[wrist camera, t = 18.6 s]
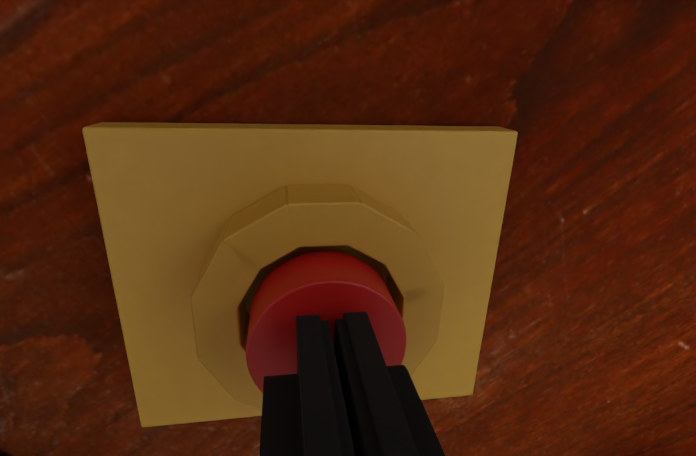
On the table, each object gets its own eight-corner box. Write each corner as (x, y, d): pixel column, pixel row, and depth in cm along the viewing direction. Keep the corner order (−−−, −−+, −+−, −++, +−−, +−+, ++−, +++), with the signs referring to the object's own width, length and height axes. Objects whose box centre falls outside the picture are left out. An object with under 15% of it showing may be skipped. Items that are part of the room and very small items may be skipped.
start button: (246, 252, 11) (240, 284, 9) (394, 247, 11) (413, 276, 10) (254, 376, 12) (250, 423, 10) (385, 365, 13) (401, 408, 11)
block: (99, 121, 11) (40, 137, 9) (499, 126, 13) (558, 140, 10) (150, 402, 15) (121, 477, 12) (460, 374, 17) (496, 434, 14)
